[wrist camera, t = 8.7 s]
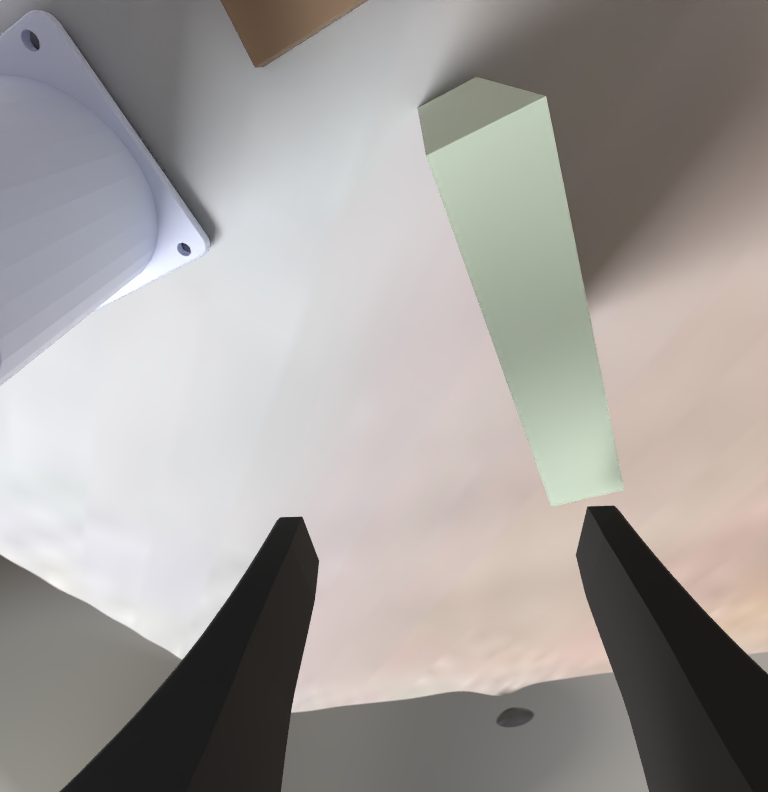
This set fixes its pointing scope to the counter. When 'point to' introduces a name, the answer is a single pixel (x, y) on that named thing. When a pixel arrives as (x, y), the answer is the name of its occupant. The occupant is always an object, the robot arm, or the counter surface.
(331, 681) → the counter surface
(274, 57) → the rack
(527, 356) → the sage green block
